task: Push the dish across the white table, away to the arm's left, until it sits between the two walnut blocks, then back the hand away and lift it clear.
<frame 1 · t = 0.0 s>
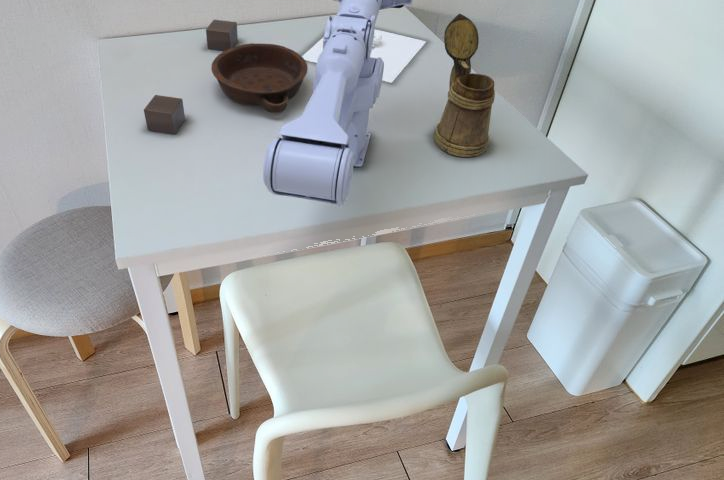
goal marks: (197, 81, 113), on the table
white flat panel: (364, 50, 122), on the table
dish: (260, 90, 111), on the table
wooden mug: (454, 135, 102), on the table
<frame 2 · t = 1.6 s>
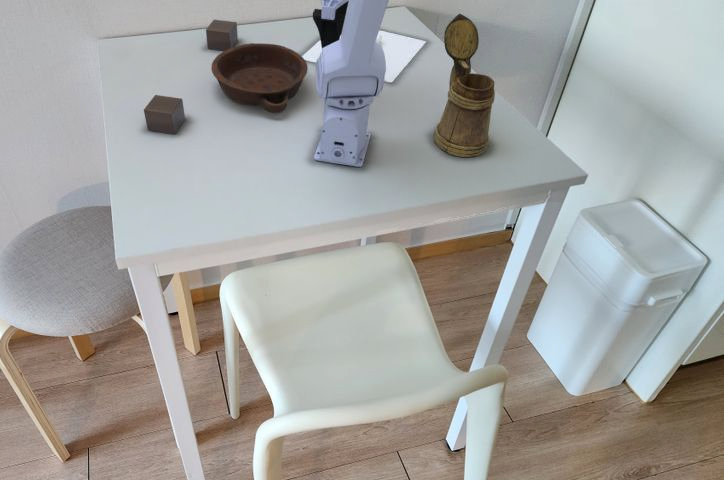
hand: (333, 43, 101), 10 cm above the table, tool pointing down, fingers open, 7 cm apart
nothing on the table moved.
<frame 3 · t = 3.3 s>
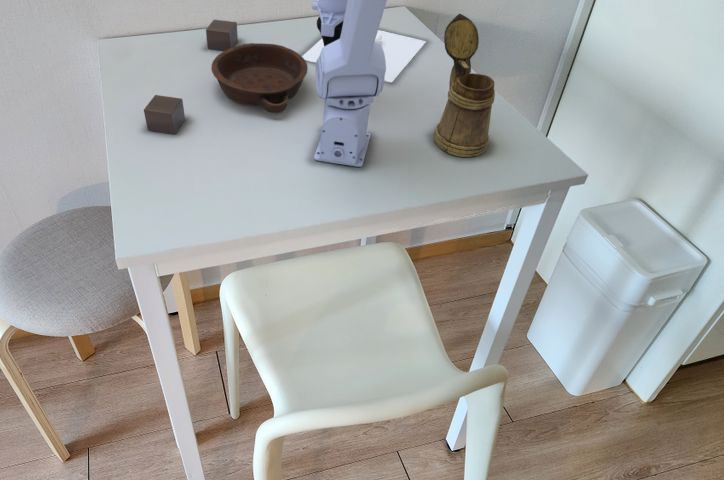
hand: (332, 59, 103), 8 cm above the table, tool pointing down, fingers closed
nothing on the table moved.
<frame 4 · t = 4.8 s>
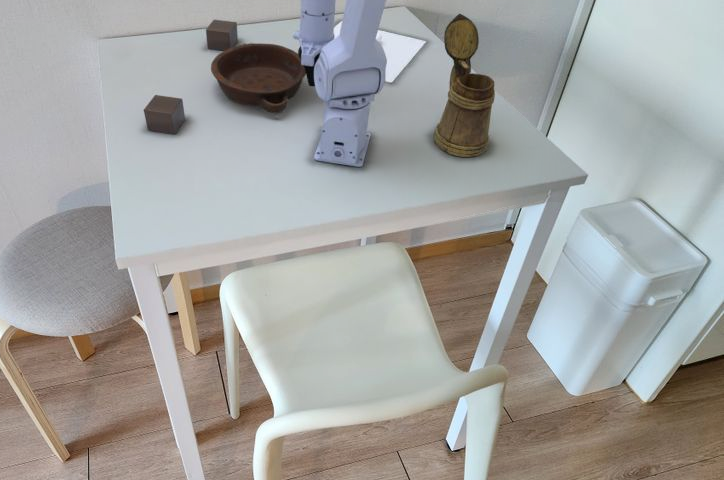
hand: (314, 84, 107), 2 cm above the table, tool pointing down, fingers closed, pressing on dish
dish: (259, 90, 111), on the table, touching gripper
everything else where it was.
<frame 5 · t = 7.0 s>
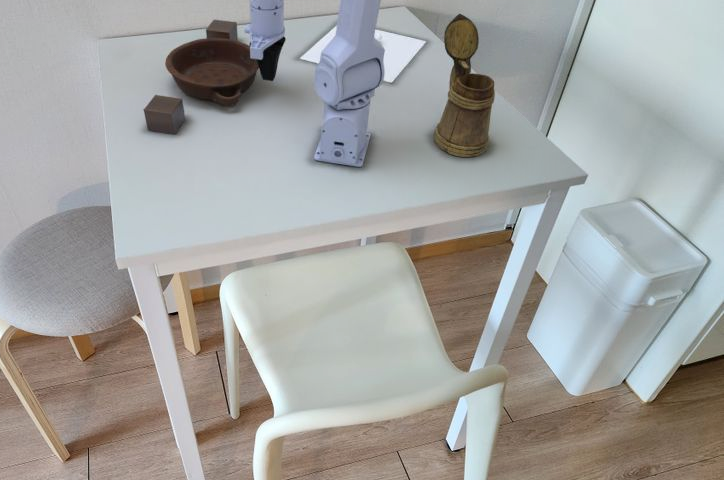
hand: (268, 78, 109), 2 cm above the table, tool pointing down, fingers closed, pressing on dish
dish: (215, 84, 112), on the table, touching gripper
everything else where it was.
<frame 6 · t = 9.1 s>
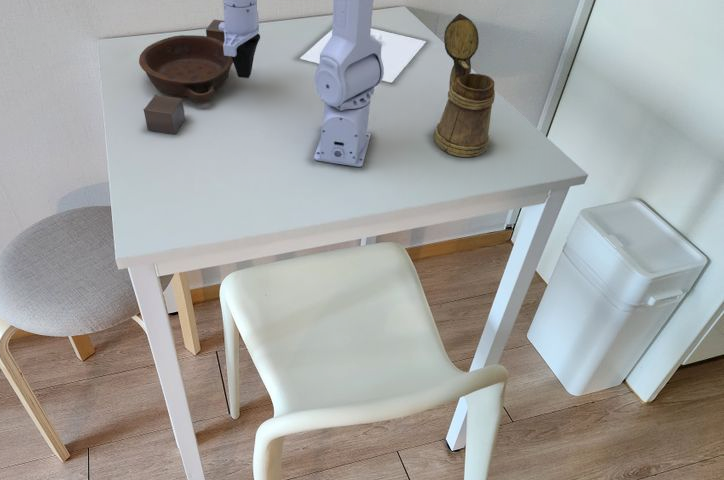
hand: (244, 76, 109), 2 cm above the table, tool pointing down, fingers closed
dish: (190, 81, 113), on the table
everything else where it was.
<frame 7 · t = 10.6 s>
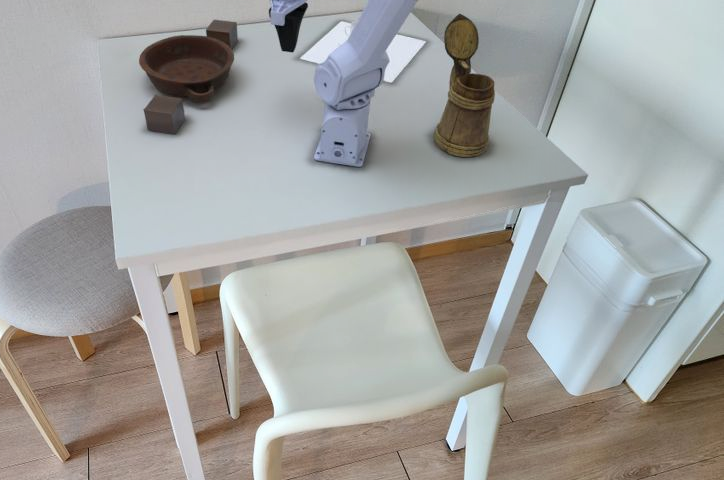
hand: (288, 50, 99), 10 cm above the table, tool pointing down, fingers closed
nothing on the table moved.
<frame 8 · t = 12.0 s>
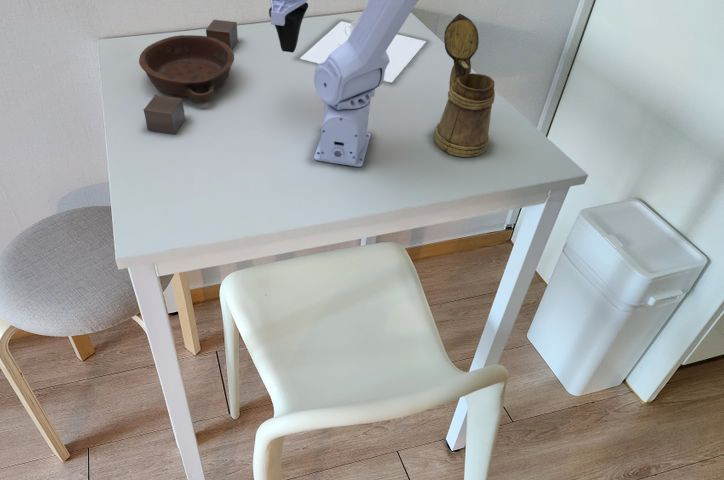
hand: (288, 50, 99), 10 cm above the table, tool pointing down, fingers closed
nothing on the table moved.
at the end: dish inside the target area on the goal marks (1.3 cm from its centre), point 0.0 cm above the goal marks's base; dish moved 14.0 cm from its start; dish tilted 0° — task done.
